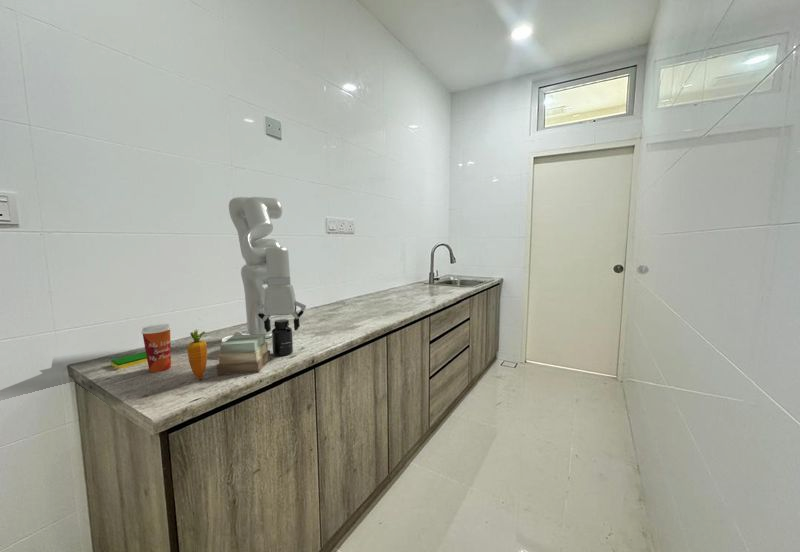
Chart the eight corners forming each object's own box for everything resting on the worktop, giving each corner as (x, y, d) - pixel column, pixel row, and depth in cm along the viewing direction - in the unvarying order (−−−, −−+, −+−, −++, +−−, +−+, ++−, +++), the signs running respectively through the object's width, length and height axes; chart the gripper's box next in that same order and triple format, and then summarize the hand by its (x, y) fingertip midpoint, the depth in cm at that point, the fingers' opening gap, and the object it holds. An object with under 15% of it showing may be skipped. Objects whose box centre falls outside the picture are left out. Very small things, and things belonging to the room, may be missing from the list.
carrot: (195, 376, 97) (191, 327, 96) (212, 375, 97) (208, 326, 96) (186, 383, 92) (181, 332, 91) (204, 382, 92) (200, 331, 91)
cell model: (216, 357, 114) (215, 338, 113) (229, 346, 126) (227, 329, 125) (247, 355, 116) (245, 336, 115) (256, 345, 127) (255, 328, 127)
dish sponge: (111, 366, 108) (110, 359, 108) (159, 354, 120) (159, 348, 119) (118, 371, 104) (117, 363, 104) (167, 358, 116) (167, 351, 115)
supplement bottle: (286, 357, 112) (284, 323, 111) (269, 356, 114) (266, 322, 112) (296, 350, 119) (295, 318, 118) (280, 349, 120) (278, 318, 119)
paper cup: (151, 375, 99) (147, 330, 97) (140, 370, 103) (136, 327, 101) (179, 367, 105) (175, 324, 104) (168, 362, 109) (164, 322, 108)
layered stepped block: (233, 360, 110) (231, 334, 109) (270, 358, 111) (268, 333, 110) (217, 374, 98) (215, 345, 97) (258, 372, 99) (256, 343, 98)
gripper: (249, 284, 109) (253, 334, 110) (302, 282, 111) (305, 331, 112) (257, 282, 117) (260, 329, 118) (306, 280, 118) (309, 326, 119)
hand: (282, 330), depth 115 cm, fingers open, 9 cm apart
